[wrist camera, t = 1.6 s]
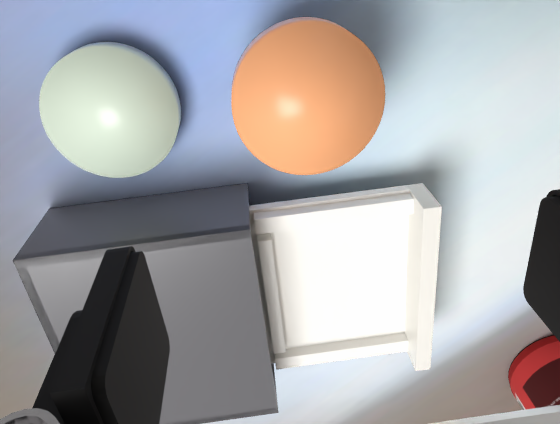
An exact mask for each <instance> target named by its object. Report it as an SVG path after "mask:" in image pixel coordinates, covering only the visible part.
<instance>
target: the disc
mask: <svg viewBox="0 0 560 424" xmlns="http://www.w3.org/2000/svg"><path fill="white" fill-rule="evenodd" d="M384 105H385V85H384V79H383V75H382V72H381V69H380V66H379V64H378V62H377V60H376V58H375V56H374V55H373V53H372V52H371V51H370V49H369V48H368V47H367V46H366V45H365V44H364V43H363V42H362V41H361V40H360V39H359V38H357V37H356V36H355V35H354V34H352V33H351V32H349V31H348V30H347V29H345V28H344V27H342V26H340V25H338V24H336V23H334V22H331V21H329V20H326V19H321V18H316V17H297V18H292V19H287V20H284V21H281V22H278V23H276V24H274V25H272V26H270V27H269V28H267V29H266V30H264V31H263V32H261V33H260V34H259V35H258V36H257V37H256V38H254V39H253V40H252V42H251V43H250V44H249V45H248V46H247V48H246V49H245V51H244V52H243V54H242V55H241V57H240V59H239V61H238V63H237V66H236V69H235V72H234V76H233V81H232V115H233V119H234V124H235V126H236V129H237V132H238V134H239V136H240V138H241V140H242V141H243V143H244V144H245V146H246V147H247V148H248V150H249V151H250V152H251V153H252V154H253V155H254V156H255V157H256V158H258V159H259V160H260V161H261V162H263V163H265V164H266V165H268V166H269V167H272V168H274V169H276V170H279V171H282V172H285V173H290V174H295V175H313V174H319V173H324V172H327V171H330V170H333V169H335V168H338V167H340V166H342V165H344V164H345V163H347V162H349V161H350V160H351V159H353V158H354V157H355V156H357V155H358V154H359V153H360V152H361V151H362V150H363V149H364V148H365V146H366V145H367V144H368V143H369V142H370V140H371V139H372V137H373V135H374V134H375V132H376V130H377V128H378V126H379V124H380V121H381V118H382V115H383V110H384Z"/></svg>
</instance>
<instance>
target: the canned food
mask: <svg viewBox="0 0 560 424" xmlns="http://www.w3.org/2000/svg"><path fill="white" fill-rule="evenodd" d="M508 378H509V383H510V387H511V391H512V393H513V395H514V396H515V398H516V400H517V401H518V403H519V404H520V406H521V408H522V409H523V410H526V409H533V408H541V407H548V406H555V405H560V342H559V340H558V339H557V338H556V337H555V335H554V336H549V337H546V338H543V339H541V340H538V341H536V342H534V343H533V344H531V345H529V346H528V347H526V348H525V349H524V350H523V351H522V352H520V353H519V355H518V356H517V357H516V358H515V359H514V361H513V363H512V364H511V366H510V369H509V375H508Z"/></svg>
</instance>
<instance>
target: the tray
mask: <svg viewBox="0 0 560 424" xmlns="http://www.w3.org/2000/svg"><path fill="white" fill-rule="evenodd" d="M249 209H250V226H251V236H252V243H253V249H254V256H255V262H256V269H257V275H258V282H259V288H260V295H261V301H262V308H263V314H264V321H265V327H266V334H267V340H268V347H269V353H270V360H271V363H276V370H277V369H284V368H291V367H298V366H305V365H313V364H320V363H327V362H334V361H342V360H349V359H356V358H363V357H370V356H378V355H385V354H392V353H399V352H406V351H407V352H408V355H409V357H410V359H411V362H412V364H413V366H414V369H415V371H420V370H427V369H430V366H431V352H432V338H433V324H434V310H435V296H436V282H437V268H438V254H439V240H440V226H441V212H442V206H441V205H440V204H439V202H438V201H437V200H436V199H435V197H434V196H433V195H432V194H431V192H430V191H429V190H428V189H427V188H426V186H425V185H424V184H423V183H419V184H411V185H404V186H396V187H388V188H381V189H373V190H365V191H357V192H350V193H342V194H334V195H327V196H319V197H311V198H304V199H296V200H288V201H280V202H273V203H265V204H257V205H250V206H249Z"/></svg>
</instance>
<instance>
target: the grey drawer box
mask: <svg viewBox="0 0 560 424" xmlns="http://www.w3.org/2000/svg"><path fill="white" fill-rule="evenodd" d="M130 246H132V247H134V249H135V251H136V252H140V251H142V252H143V253H144V255H145V258H146V262H147V265H148V268H149V272H150V275H151V279H152V282H153V285H154V289H155V292H156V296H157V299H158V302H159V306H160V309H161V313H162V316H163V319H164V323H165V326H166V330H167V333H168V337H169V343H170V353H169V360H168V367H167V374H166V381H165V388H164V395H163V402H162V409H161V415H160V422H159V424H201V423H208V422H216V421H223V420H230V419H237V418H244V417H251V416H258V415H265V414H272V413H278V405H277V394H276V384H275V373H274V363H271V360H270V353H269V347H268V340H267V334H266V327H265V321H264V314H263V308H262V301H261V295H260V288H259V282H258V275H257V269H256V262H255V256H254V249H253V243H252V236H251V226H250V209H249V193H248V185H247V183H245V184H237V185H230V186H222V187H214V188H206V189H199V190H191V191H183V192H175V193H168V194H160V195H152V196H144V197H136V198H129V199H121V200H113V201H105V202H98V203H90V204H82V205H74V206H67V207H59V208H51V209H49V210H48V211H47V213H46V214H45V216H44V217H43V218H42V220H41V221H40V223H39V224H38V225H37V227H36V228H35V230H34V231H33V233H32V234H31V235H30V237H29V238H28V240H27V241H26V242H25V244H24V245H23V247H22V248H21V250H20V251H19V252H18V254H17V255H16V257H15V258H14V259H13V262H14V265H15V267H16V269H17V271H18V273H19V276H20V278H21V280H22V282H23V284H24V287H25V289H26V291H27V293H28V295H29V298H30V300H31V302H32V304H33V306H34V309H35V311H36V313H37V315H38V318H39V320H40V322H41V324H42V326H43V329H44V331H45V333H46V335H47V337H48V340H49V342H50V344H51V346H52V348H53V351H54V353H56V351H57V348H58V346H59V344H60V341H61V339H62V336H63V334H64V332H65V329H66V327H67V324H68V322H69V320H70V318H71V316H72V314H73V313H74V312H76V311H80V310H83V307H84V305H85V302H86V300H87V297H88V295H89V292H90V289H91V287H92V284H93V282H94V279H95V277H96V274H97V272H98V269H99V267H100V264H101V262H102V259H103V257H104V254H105V252H106V250H108V249H115V248H122V247H130Z"/></svg>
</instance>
